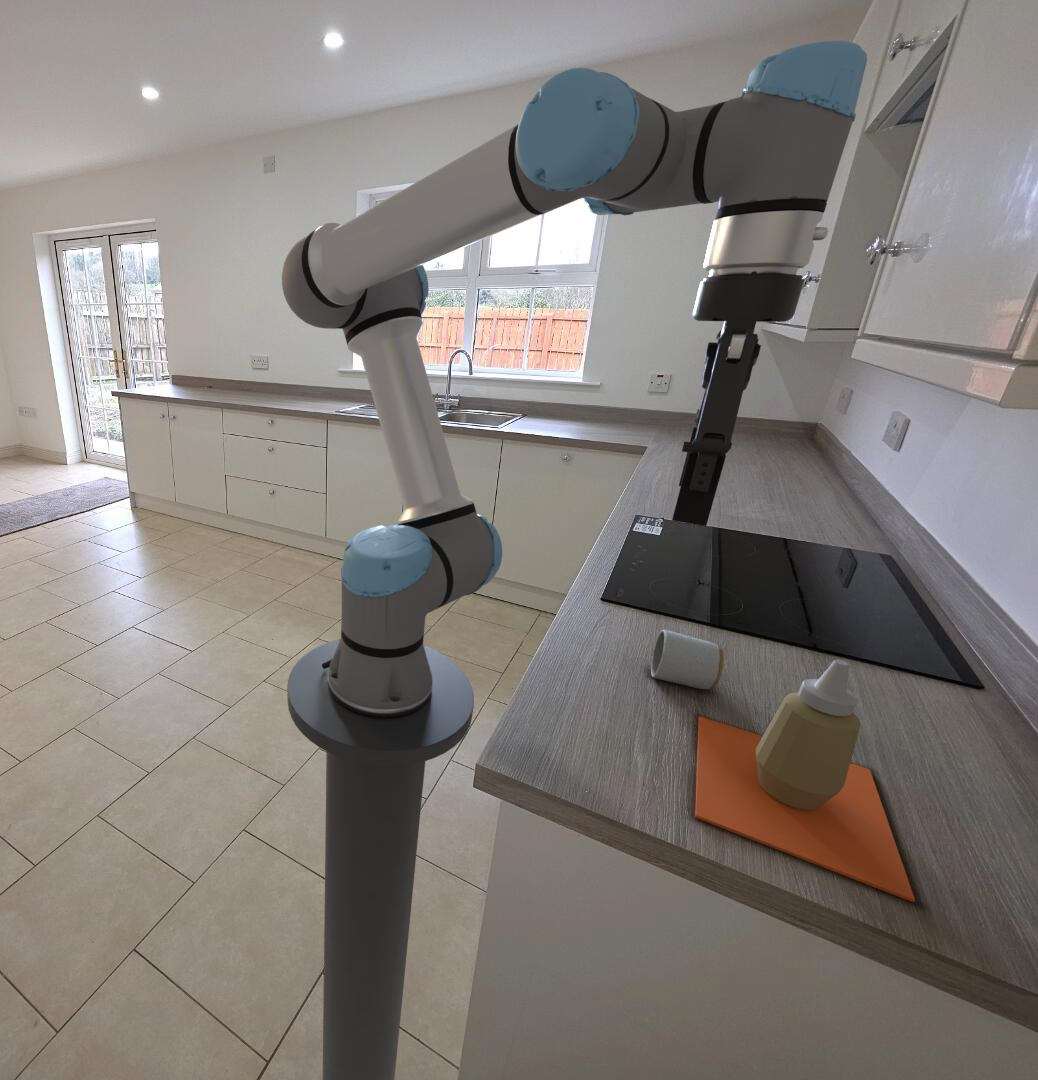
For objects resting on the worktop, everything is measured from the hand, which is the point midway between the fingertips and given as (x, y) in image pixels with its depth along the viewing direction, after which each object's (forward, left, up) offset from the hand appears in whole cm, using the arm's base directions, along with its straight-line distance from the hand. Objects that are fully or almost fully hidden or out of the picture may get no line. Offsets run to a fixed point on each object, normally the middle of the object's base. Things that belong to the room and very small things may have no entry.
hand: (691, 503), depth 57 cm
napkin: (+17, +6, -35) cm, 39 cm away
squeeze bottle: (+17, +6, -34) cm, 39 cm away
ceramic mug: (+5, +26, -35) cm, 44 cm away
